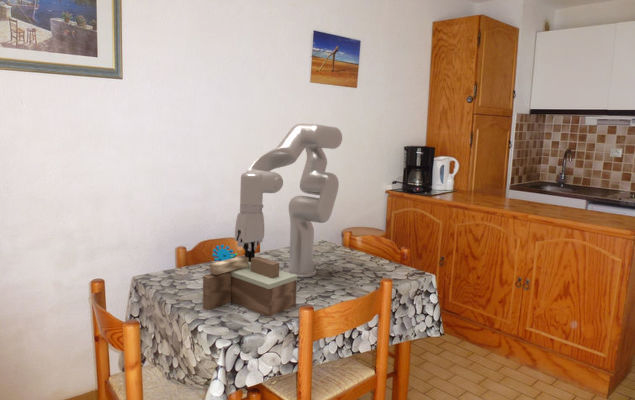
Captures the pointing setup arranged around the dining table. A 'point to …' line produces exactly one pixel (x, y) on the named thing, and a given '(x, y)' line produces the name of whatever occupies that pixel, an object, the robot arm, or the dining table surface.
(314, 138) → the robot arm
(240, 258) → the bar
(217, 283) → the brown wooden box
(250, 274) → the lid
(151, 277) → the dining table surface
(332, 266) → the dining table surface
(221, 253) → the blue spiky virus toy
